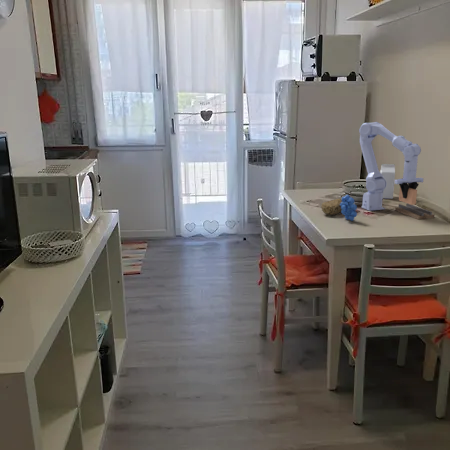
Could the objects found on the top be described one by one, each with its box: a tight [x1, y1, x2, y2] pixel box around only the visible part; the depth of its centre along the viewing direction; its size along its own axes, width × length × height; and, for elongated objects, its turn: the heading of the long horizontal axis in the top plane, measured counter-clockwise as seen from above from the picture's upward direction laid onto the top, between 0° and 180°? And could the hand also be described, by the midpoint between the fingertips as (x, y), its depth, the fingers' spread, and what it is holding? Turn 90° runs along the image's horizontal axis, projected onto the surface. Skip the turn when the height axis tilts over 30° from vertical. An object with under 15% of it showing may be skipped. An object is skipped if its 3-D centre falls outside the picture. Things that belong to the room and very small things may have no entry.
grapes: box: [340, 194, 358, 222], centre depth 220 cm, size 12×7×12 cm, turn 23°
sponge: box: [320, 197, 356, 216], centre depth 234 cm, size 13×8×20 cm
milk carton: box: [379, 163, 396, 199], centre depth 263 cm, size 7×7×19 cm
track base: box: [394, 203, 436, 220], centre depth 229 cm, size 9×18×3 cm, turn 16°
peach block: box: [398, 186, 418, 206], centre depth 225 cm, size 2×10×7 cm, turn 14°
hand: (407, 197), depth 226 cm, fingers closed on peach block, 2 cm apart
